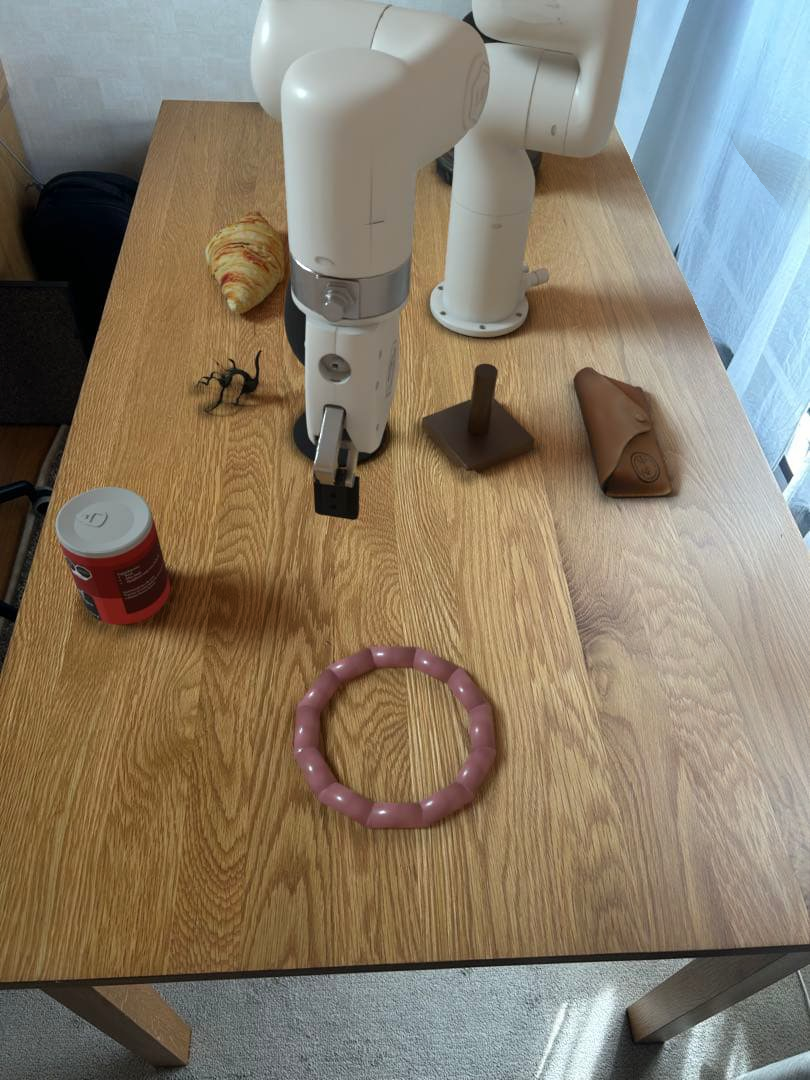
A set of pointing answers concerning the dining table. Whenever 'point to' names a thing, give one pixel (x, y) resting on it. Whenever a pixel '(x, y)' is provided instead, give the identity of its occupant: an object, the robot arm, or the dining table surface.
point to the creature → (248, 383)
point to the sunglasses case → (621, 437)
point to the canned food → (114, 554)
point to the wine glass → (296, 339)
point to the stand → (478, 427)
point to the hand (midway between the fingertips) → (350, 468)
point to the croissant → (246, 261)
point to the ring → (394, 812)
